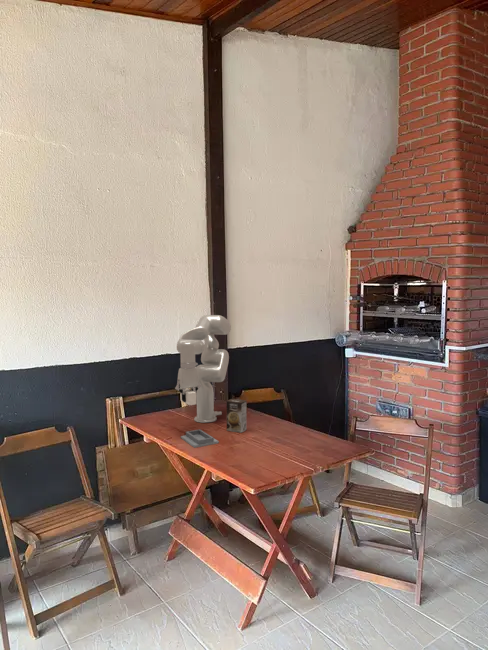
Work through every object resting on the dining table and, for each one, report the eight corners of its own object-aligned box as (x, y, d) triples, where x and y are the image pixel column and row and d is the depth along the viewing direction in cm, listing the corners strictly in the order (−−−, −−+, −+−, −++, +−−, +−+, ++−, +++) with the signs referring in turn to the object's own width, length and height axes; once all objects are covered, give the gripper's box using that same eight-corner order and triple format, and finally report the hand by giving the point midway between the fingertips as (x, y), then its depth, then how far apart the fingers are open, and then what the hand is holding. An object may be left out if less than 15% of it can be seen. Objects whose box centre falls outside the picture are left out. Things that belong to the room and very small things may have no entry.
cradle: (204, 433, 274) (204, 428, 273) (218, 443, 259) (218, 437, 259) (180, 438, 267) (180, 432, 267) (194, 447, 253) (194, 441, 252)
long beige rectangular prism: (187, 399, 278) (187, 388, 277) (196, 404, 267) (196, 392, 267) (180, 400, 276) (180, 389, 276) (189, 405, 265) (188, 393, 265)
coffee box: (226, 430, 279) (225, 400, 277) (232, 427, 285) (231, 398, 283) (241, 433, 275) (241, 402, 273) (247, 429, 280) (246, 399, 279)
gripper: (200, 363, 277) (200, 398, 279) (169, 365, 270) (170, 401, 271) (206, 365, 271) (206, 400, 272) (175, 368, 263) (175, 404, 264)
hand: (188, 400), depth 271 cm, fingers closed on long beige rectangular prism, 4 cm apart
